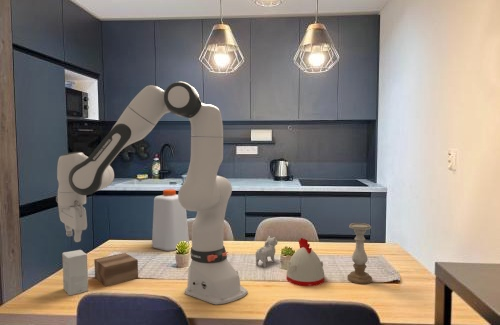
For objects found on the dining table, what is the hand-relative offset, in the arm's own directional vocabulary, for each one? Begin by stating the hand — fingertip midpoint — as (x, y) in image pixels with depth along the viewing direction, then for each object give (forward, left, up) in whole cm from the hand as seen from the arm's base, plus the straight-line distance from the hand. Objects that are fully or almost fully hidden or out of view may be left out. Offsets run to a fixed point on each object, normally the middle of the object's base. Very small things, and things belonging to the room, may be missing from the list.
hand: (73, 238), depth 127 cm
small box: (0, 0, -18) cm, 18 cm away
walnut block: (+2, -15, -18) cm, 24 cm away
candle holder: (-61, -81, -18) cm, 103 cm away
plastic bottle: (+26, -51, -18) cm, 60 cm away
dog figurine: (-24, -69, -18) cm, 76 cm away
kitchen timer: (-47, -67, -19) cm, 84 cm away
